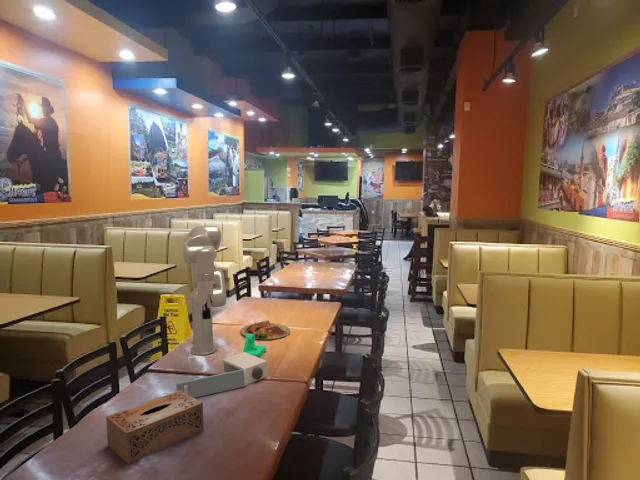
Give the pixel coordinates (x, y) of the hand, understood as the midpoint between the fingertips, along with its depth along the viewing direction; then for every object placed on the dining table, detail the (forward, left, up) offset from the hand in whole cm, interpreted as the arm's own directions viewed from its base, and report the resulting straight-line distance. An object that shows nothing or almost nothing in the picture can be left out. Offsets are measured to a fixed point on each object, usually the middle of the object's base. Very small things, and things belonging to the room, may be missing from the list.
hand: (206, 318), depth 196 cm
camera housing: (+13, +10, -25) cm, 30 cm away
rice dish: (-26, +54, -26) cm, 65 cm away
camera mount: (-4, +29, -25) cm, 39 cm away
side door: (+18, -10, -25) cm, 32 cm away
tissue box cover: (+32, -40, -26) cm, 57 cm away
